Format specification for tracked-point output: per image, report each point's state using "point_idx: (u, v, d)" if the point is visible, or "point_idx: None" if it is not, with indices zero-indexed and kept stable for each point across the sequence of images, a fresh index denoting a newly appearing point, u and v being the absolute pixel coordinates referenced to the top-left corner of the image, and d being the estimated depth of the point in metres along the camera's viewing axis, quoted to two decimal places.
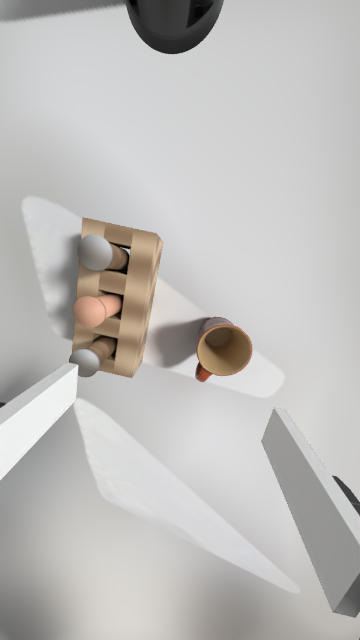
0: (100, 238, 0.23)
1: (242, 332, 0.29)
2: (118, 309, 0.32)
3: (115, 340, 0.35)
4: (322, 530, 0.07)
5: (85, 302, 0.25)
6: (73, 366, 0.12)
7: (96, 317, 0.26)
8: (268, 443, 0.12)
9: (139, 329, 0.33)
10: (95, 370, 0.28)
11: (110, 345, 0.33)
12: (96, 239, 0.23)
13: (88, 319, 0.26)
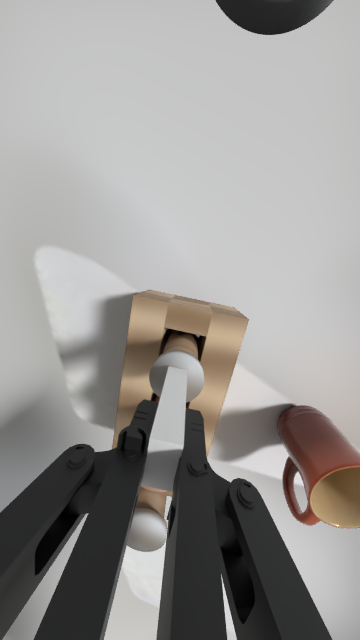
0: (189, 360, 0.14)
1: None
2: None
3: None
4: None
5: None
6: (176, 369, 0.14)
7: None
8: None
9: (209, 444, 0.23)
10: (161, 544, 0.17)
11: None
12: (181, 361, 0.14)
13: None
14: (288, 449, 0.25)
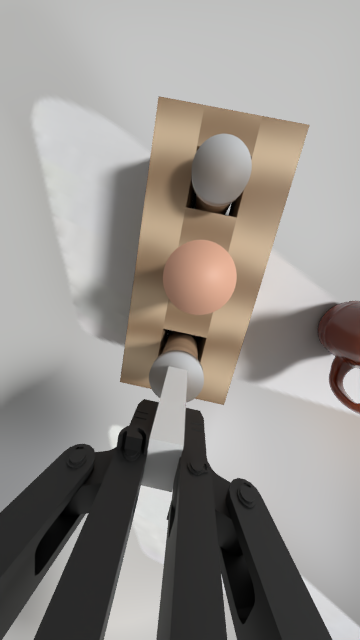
0: (236, 141, 0.13)
1: None
2: None
3: (195, 336, 0.22)
4: None
5: (195, 254, 0.11)
6: (176, 369, 0.14)
7: (217, 290, 0.11)
8: None
9: (247, 321, 0.18)
10: (197, 391, 0.15)
11: (195, 345, 0.20)
12: (227, 144, 0.13)
13: (197, 296, 0.11)
14: (338, 341, 0.21)
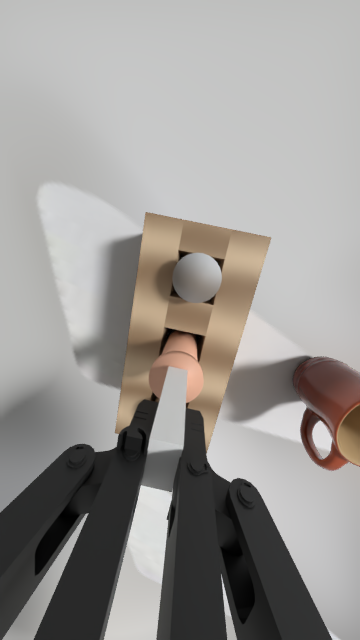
0: (208, 258, 0.16)
1: None
2: None
3: None
4: None
5: (172, 364, 0.14)
6: (176, 369, 0.14)
7: (189, 388, 0.15)
8: None
9: (225, 386, 0.21)
10: None
11: None
12: (201, 260, 0.16)
13: None
14: (307, 397, 0.23)
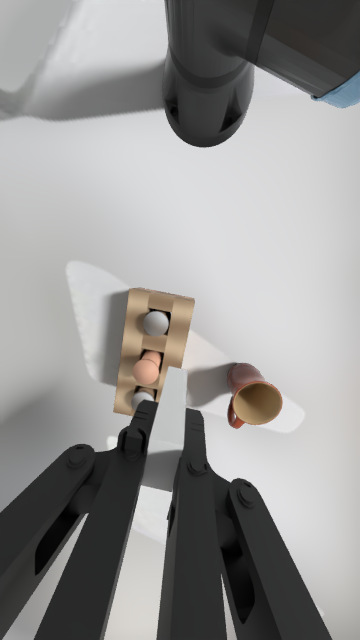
0: (160, 314, 0.32)
1: (273, 387, 0.32)
2: None
3: None
4: None
5: (143, 365, 0.31)
6: (176, 370, 0.14)
7: (151, 376, 0.31)
8: None
9: None
10: None
11: None
12: (157, 315, 0.32)
13: (145, 378, 0.32)
14: (229, 388, 0.39)
